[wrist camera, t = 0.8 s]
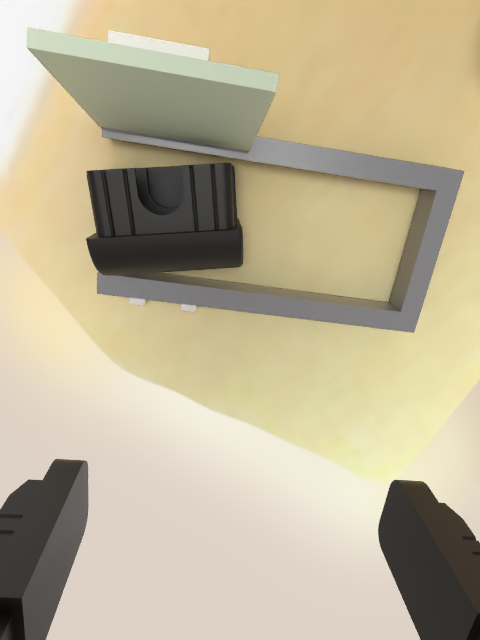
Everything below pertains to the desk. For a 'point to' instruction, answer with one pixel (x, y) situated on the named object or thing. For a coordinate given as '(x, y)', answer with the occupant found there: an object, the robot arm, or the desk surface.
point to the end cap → (164, 219)
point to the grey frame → (395, 315)
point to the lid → (158, 87)
